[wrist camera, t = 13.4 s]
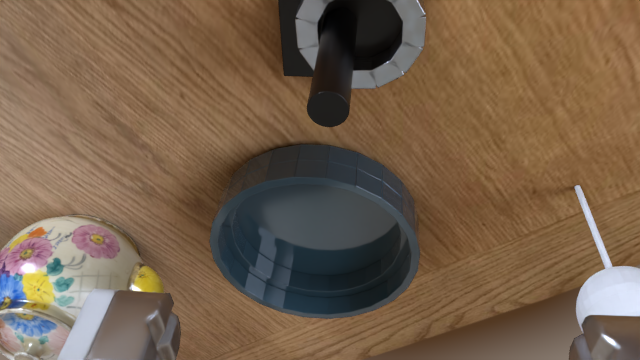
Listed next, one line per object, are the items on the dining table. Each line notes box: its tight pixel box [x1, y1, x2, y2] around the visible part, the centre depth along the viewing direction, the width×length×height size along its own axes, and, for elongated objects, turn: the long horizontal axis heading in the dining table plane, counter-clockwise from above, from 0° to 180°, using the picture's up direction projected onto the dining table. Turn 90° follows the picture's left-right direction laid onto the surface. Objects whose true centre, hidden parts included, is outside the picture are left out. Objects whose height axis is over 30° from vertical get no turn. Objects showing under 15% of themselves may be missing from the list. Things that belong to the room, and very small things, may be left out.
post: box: [278, 0, 402, 127], centre depth 33 cm, size 8×8×11 cm
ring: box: [295, 0, 426, 89], centre depth 35 cm, size 8×8×2 cm
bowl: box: [210, 144, 420, 319], centre depth 48 cm, size 17×17×4 cm
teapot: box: [0, 215, 164, 360], centre depth 49 cm, size 20×14×13 cm
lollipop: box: [574, 185, 640, 333], centre depth 39 cm, size 6×6×15 cm
